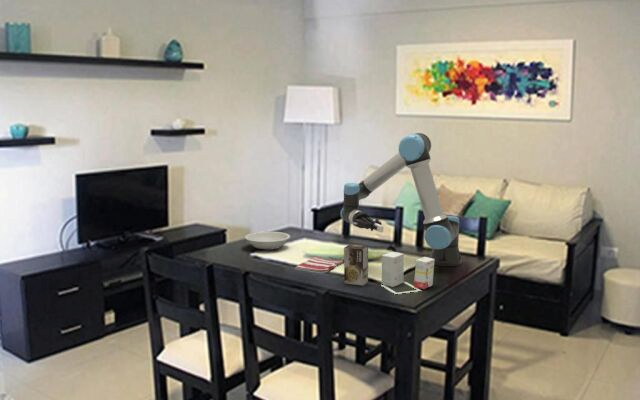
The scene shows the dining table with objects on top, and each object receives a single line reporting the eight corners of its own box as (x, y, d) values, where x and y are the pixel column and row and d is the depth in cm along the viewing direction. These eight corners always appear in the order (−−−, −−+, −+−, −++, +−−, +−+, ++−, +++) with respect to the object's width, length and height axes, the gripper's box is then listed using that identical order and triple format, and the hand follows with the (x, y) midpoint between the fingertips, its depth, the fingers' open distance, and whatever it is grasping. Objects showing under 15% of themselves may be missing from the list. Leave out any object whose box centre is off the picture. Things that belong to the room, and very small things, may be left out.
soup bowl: (288, 254, 317) (288, 241, 316) (242, 254, 318) (241, 241, 316) (291, 243, 341) (291, 231, 340) (248, 243, 341) (248, 231, 340)
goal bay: (406, 282, 267) (406, 281, 267) (421, 291, 255) (421, 290, 255) (380, 285, 263) (380, 284, 263) (395, 294, 251) (395, 293, 251)
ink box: (424, 289, 256) (425, 261, 255) (413, 287, 259) (415, 259, 258) (433, 285, 263) (435, 258, 262) (422, 283, 266) (424, 256, 264)
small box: (391, 280, 271) (391, 251, 269) (403, 282, 267) (404, 253, 265) (380, 284, 265) (381, 254, 263) (393, 287, 261) (393, 257, 259)
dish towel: (346, 262, 303) (346, 257, 302) (326, 274, 282) (326, 269, 281) (315, 258, 310) (315, 253, 309) (293, 270, 289) (293, 265, 288)
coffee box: (368, 282, 268) (368, 245, 266) (363, 286, 263) (363, 249, 260) (349, 279, 272) (349, 243, 270) (343, 283, 266) (343, 247, 264)
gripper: (371, 225, 296) (394, 236, 274) (346, 227, 291) (368, 238, 269) (372, 210, 294) (395, 220, 273) (346, 212, 290) (368, 221, 268)
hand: (381, 229), depth 271 cm, fingers closed
